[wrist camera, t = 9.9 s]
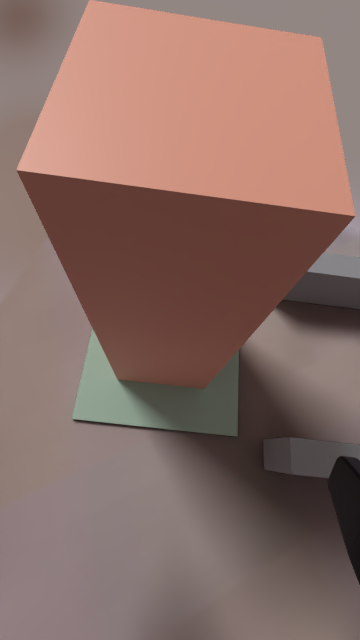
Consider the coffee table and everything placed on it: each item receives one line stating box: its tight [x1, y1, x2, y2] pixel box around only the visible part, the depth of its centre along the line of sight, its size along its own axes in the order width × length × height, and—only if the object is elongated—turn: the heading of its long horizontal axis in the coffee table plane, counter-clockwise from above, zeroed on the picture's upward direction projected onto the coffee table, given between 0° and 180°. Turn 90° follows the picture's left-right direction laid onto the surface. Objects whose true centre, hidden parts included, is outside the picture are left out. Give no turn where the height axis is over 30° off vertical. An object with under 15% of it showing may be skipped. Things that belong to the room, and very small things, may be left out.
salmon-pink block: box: [17, 0, 355, 389], centre depth 12 cm, size 5×5×14 cm
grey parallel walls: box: [263, 252, 360, 478], centre depth 17 cm, size 12×10×4 cm
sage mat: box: [72, 328, 239, 437], centre depth 18 cm, size 10×9×1 cm
